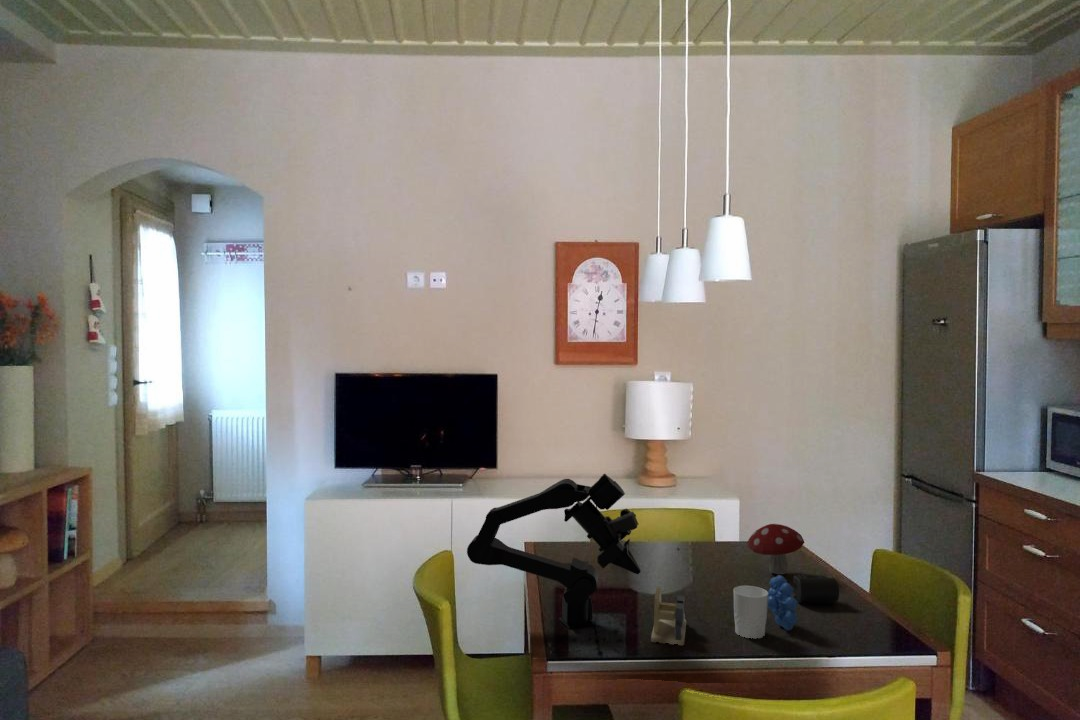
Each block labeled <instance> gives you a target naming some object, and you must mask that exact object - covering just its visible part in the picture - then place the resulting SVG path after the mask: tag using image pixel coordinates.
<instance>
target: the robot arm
mask: <svg viewBox="0 0 1080 720" xmlns="http://www.w3.org/2000/svg"><path fill="white" fill-rule="evenodd" d="M624 495H626V493H625V492H624V489H623V488H622V486H620V485H619V483H618V482H616V481H615V480H614V479H612V478H611V477H610V476H608V475H607V474H606V473H603V474H602V475H601V476H600V478H599V479H598V480H597V481H595V482H594V484H592V485H591V486H589V485H585V484H584V485H583V484H578V483H577V482H576V481H574V480H573V479H570V478H563V479H560V480H559V481H557V482H556V483H554V484H552V485H550V486H548V487H547V488H546V489H544V490H542V491H541V492H539V493H536V494H534V495H530V496H528V497H525V498H521V499H519V500H515V501H513V502H510V503H507V504H504V505H501V506H499V507H498V506H497V507H493V508H491V509H490V510H489V511H488V512H487V514H486V515H485V520H484V522H483V524H482V525H481V528H480V530H479V532H478V533H477V535H475V537H474V538H473V539H472V540H471V541H470V542H469V544H468V546H467V548H466V555H467V557H468V559H469V560H470V561H471V563H473V564H477V565H484V566H497V565H498V566H506V567H509V568H512V569H514V570H518V571H522V572H525V573H529V574H531V575H535V576H539V577H542V578H545V579H548V580H551V581H555V582H558V583H559V584H561V585H562V586H563V587H564V592H563V596H562V606H561V607H562V608H561V610H562V611H561V613H562V615H561V616H559V618H558V619H559V621H561V623H563V624H564V625H565V627H567V628H568V629H571V630H572V629H576V628H577V629H579V628H585V627H592V626H594V625H595V623H594V621H593V618H594V604H593V602H592V597H591V595H592V594H593V593H595V591H596V590H597V587H598V579H599V574H598V571H597V569H596V568H595V566H594V565H591V564H590V561H584V560H580V559H578V558H577V557H572V558H571V559H572V560H571V562H560V561H558V560H555V559H554V560H553V559H550V558H547V557H544V556H540V555H537V554H533V553H531V552H527V551H524V550H520V549H517V548H513V547H510V546H508V545H507V544H505V543H504V542H503V541H501V540H500V539H498V538H497V537H496V536H497V534H498V532H499V529H500V526H501V525H504V524H506V523H509V522H512V521H516V520H518V519H520V518H524V517H526V516H530V515H532V514H535V513H538V512H541V511H545V510H559V509H564V522H566V523H567V522H568V521H569V520H570V519H571V518H573V519H574V520H575V521H576V522H577V524H578V525H579V526H580V527H581V528H582V529H583V530H584V531H585V532H586V533H587V535H586V538H587V539H589V540H593V541H594V543H595V544H597V546H598V547H599V548H598V551H600V552H599V553H598V556H597V564H598V565H599V566H600V567H601V568H602V569H605V568H607V566H608V565H610V564H612V565H614V566H617V567H620V568H621V569H624V570H626V571H629V572H631V573H634V574H636V575H639V574H640V573H641V571H642V570H641V568H640V567H639V565H638V563H637V561H636V559H635V557H634V555H633V553H632V551H631V549H630V543H631V539H630V538H628V539H627V540H626V541H625V540H624V539H625V538H626V537H627V536H630V535H631V533H632V531H633V530H634V531H635V530H636V529H637V528H638V526H639V522H638V519H637V515H636V514H635V513H634V511H632V510H631V511H630V510H629V509H628V508H623V509H622V510H621V511H620V512H619V513H620V514H619V515H620V516H617V517H616V518H614V519H612V518H611V517H610V516H608V515H606V516H605V515H604V514H603V513H602V512H601V511H600V510H602V511H603V510H607V511H608V510H609V509H610V508H612V507H613V506H614V505H615V504H616V503H617V502H618V501H620V499H621V498H623V497H624ZM570 507H571V508H570Z"/></svg>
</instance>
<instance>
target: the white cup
mask: <svg viewBox="0 0 1080 720" xmlns="http://www.w3.org/2000/svg"><path fill="white" fill-rule="evenodd" d="M732 592H733V616H734V618H733V620H734V625H735V626H734V633H736V635H737V636H739V635H740V637H741V638H744V637H745V638H746V639H749V638H751V639H752V638H753V639H752V640H754V639H755V640H756V639H757V638H758V639H762V638H764V637H765V635H766V625H767V619H768V618H767V617H768V608H769V607H768V591H767V590H766V589H764V588H761V587H758V586H754V585H738V586H735V587H734V588H733V591H732ZM763 636H764V637H763ZM745 638H744V639H745Z"/></svg>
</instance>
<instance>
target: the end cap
mask: <svg viewBox="0 0 1080 720" xmlns="http://www.w3.org/2000/svg"><path fill="white" fill-rule="evenodd" d="M792 583H793V584H795V585H796V586H792V588H793V594H794V595H793V596H792V597H793V598H794V599H795V600H796V601H797V602H798V604H811V605H812V604H817V605H819V604H821V605H822V604H825V605H827V604H829V605H830V604H832V605H833V604H835V603H836V602H838V600H839V597H840V586H839V584H838V581H837V580H836V578H835V577H827V576H826V575H824V574H822V575H820V574H819V575H818V574H816V575H815V576H814V577H808V576H807V575H804V574H802V575H801V574H800V575H799V574H796V575H793V576H792Z"/></svg>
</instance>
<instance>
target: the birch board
mask: <svg viewBox="0 0 1080 720" xmlns="http://www.w3.org/2000/svg"><path fill="white" fill-rule="evenodd" d="M686 627H687V619H684V625H683V635H682V637H681V640H675V636H674V628H675V619H674V621H671V620H662V619H661V622H660V627H659V631H658V633H656V632H654V626H653V628H652V632H651V635H650V636H651V637H650V642H651V643H656V642H659V644H665V643H669V644H668V645H674V644H678V645H677V646H683V645H684V646H685V638H686V629H687V628H686Z"/></svg>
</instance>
